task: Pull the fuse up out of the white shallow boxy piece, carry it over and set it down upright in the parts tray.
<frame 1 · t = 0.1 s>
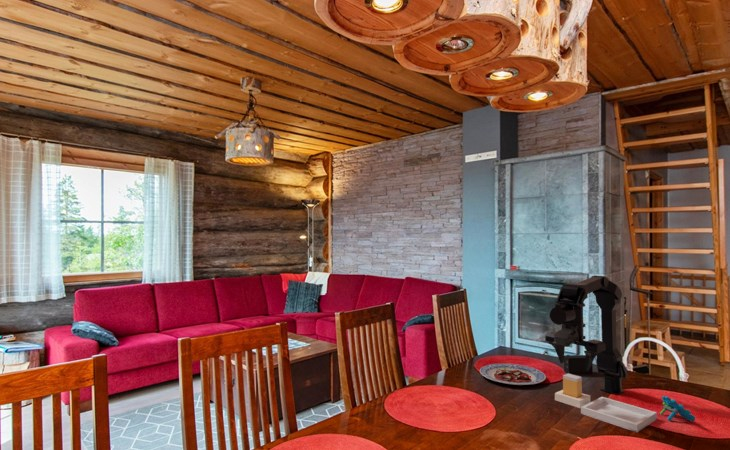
hand: (574, 366, 150), 14 cm above the table, tool pointing down, fingers open, 9 cm apart
ceramic plate: (512, 378, 182), on the table
blue toy water gun: (676, 420, 142), on the table
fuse: (572, 388, 157), in the white shallow boxy piece
parts tray: (618, 416, 144), on the table
white shallow boxy piece: (572, 401, 157), on the table
digital camera: (577, 372, 189), on the table
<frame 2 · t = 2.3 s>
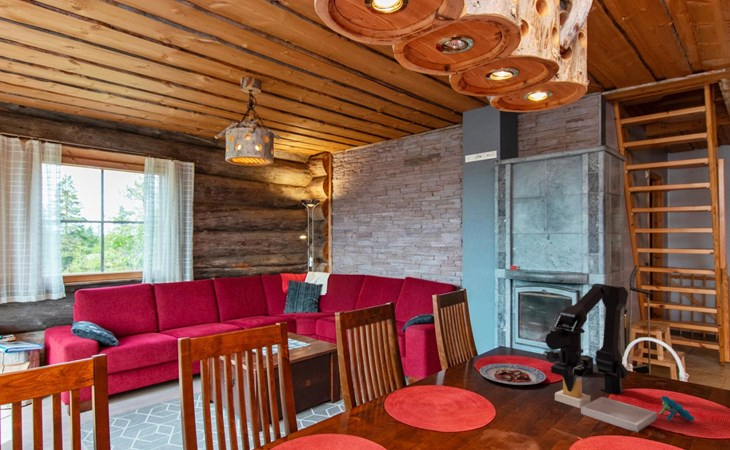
hand: (572, 390, 157), 4 cm above the table, tool pointing down, fingers closed on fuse, 3 cm apart
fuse: (572, 388, 157), in the white shallow boxy piece, touching gripper
everything else where it was.
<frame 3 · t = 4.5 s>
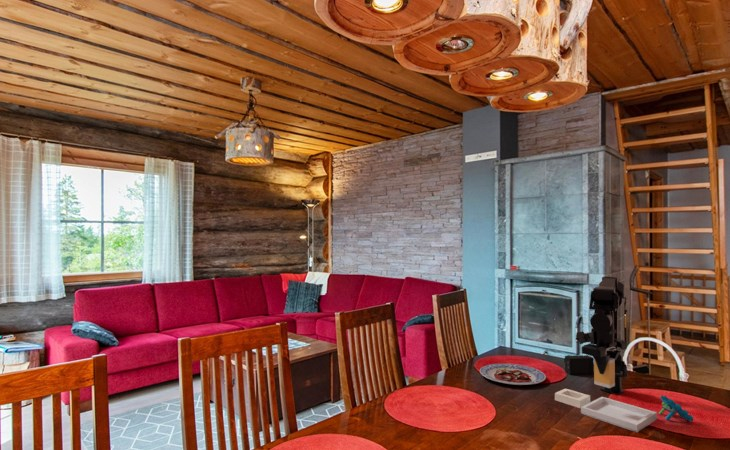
hand: (604, 372, 147), 13 cm above the table, tool pointing down, fingers closed on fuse, 3 cm apart
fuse: (604, 371, 147), point 14 cm above the table, touching gripper
everything else where it was.
when the fingers open (5 cm above the table, at t = 6.9 s): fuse stays where it is, resting on parts tray.
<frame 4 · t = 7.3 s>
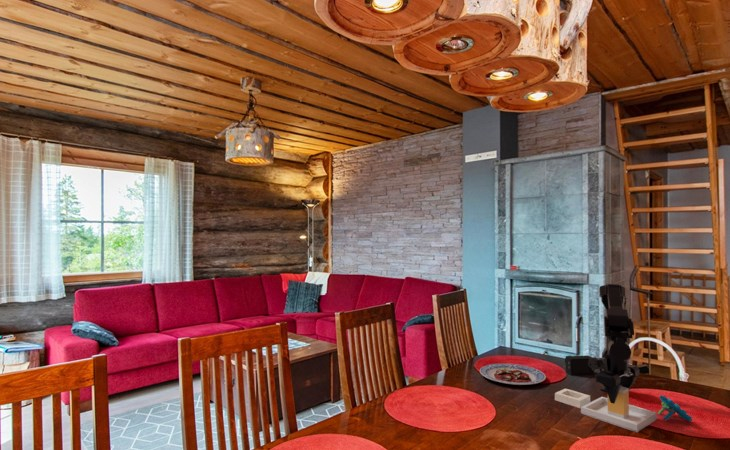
hand: (618, 400, 144), 5 cm above the table, tool pointing down, fingers open, 8 cm apart
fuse: (618, 401, 144), in the parts tray
everything else where it was.
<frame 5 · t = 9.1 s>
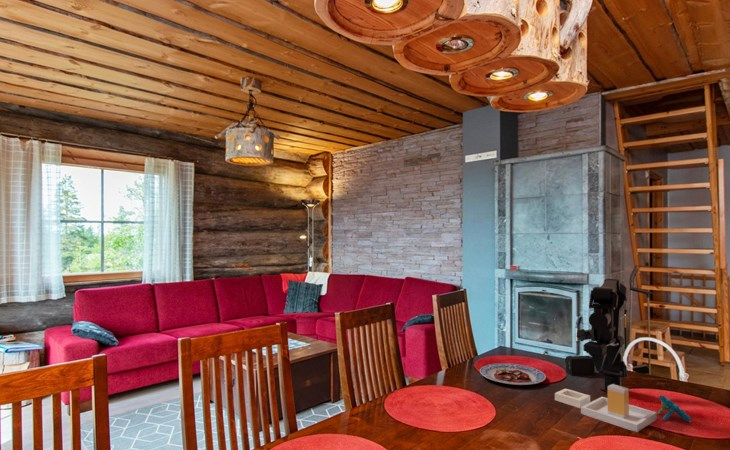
hand: (604, 368, 154), 13 cm above the table, tool pointing down, fingers open, 9 cm apart
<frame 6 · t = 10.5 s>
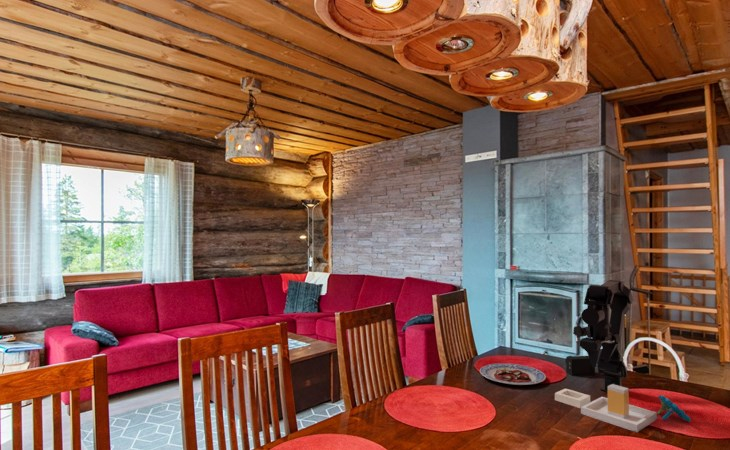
hand: (600, 364, 157), 13 cm above the table, tool pointing down, fingers open, 9 cm apart
at the end: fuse inside the target area on the parts tray (0.0 cm from its centre), point 5.0 cm above the parts tray's base; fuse tilted 0°; the gripper is holding nothing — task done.
